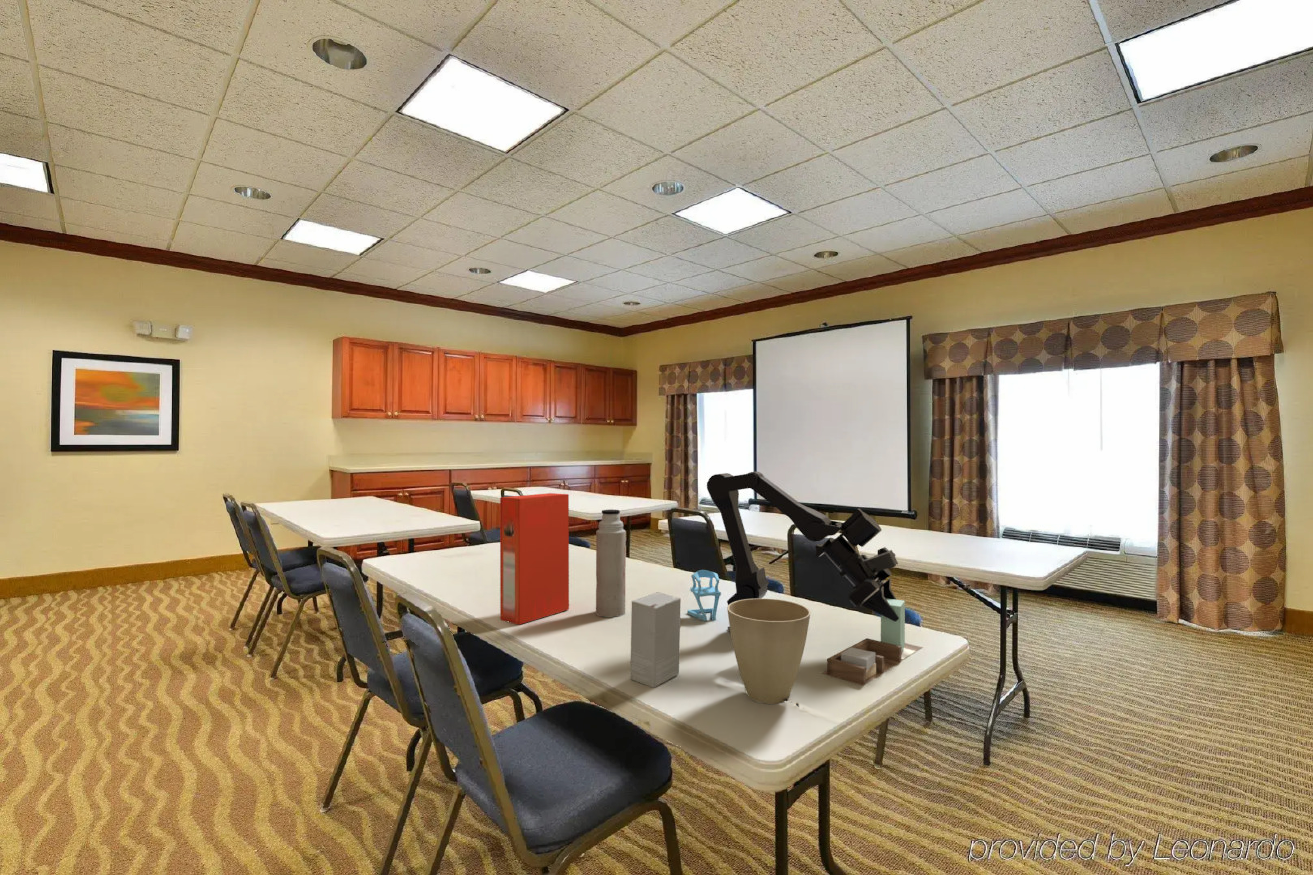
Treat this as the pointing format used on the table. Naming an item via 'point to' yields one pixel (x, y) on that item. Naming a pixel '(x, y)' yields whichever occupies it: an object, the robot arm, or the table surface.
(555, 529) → the file binder
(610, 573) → the thermos bottle
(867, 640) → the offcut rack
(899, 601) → the mint green block
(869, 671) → the birch offcut slab
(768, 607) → the plant pot
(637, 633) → the skincare box
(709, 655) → the table surface
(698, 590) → the chair
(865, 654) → the grey offcut slab
